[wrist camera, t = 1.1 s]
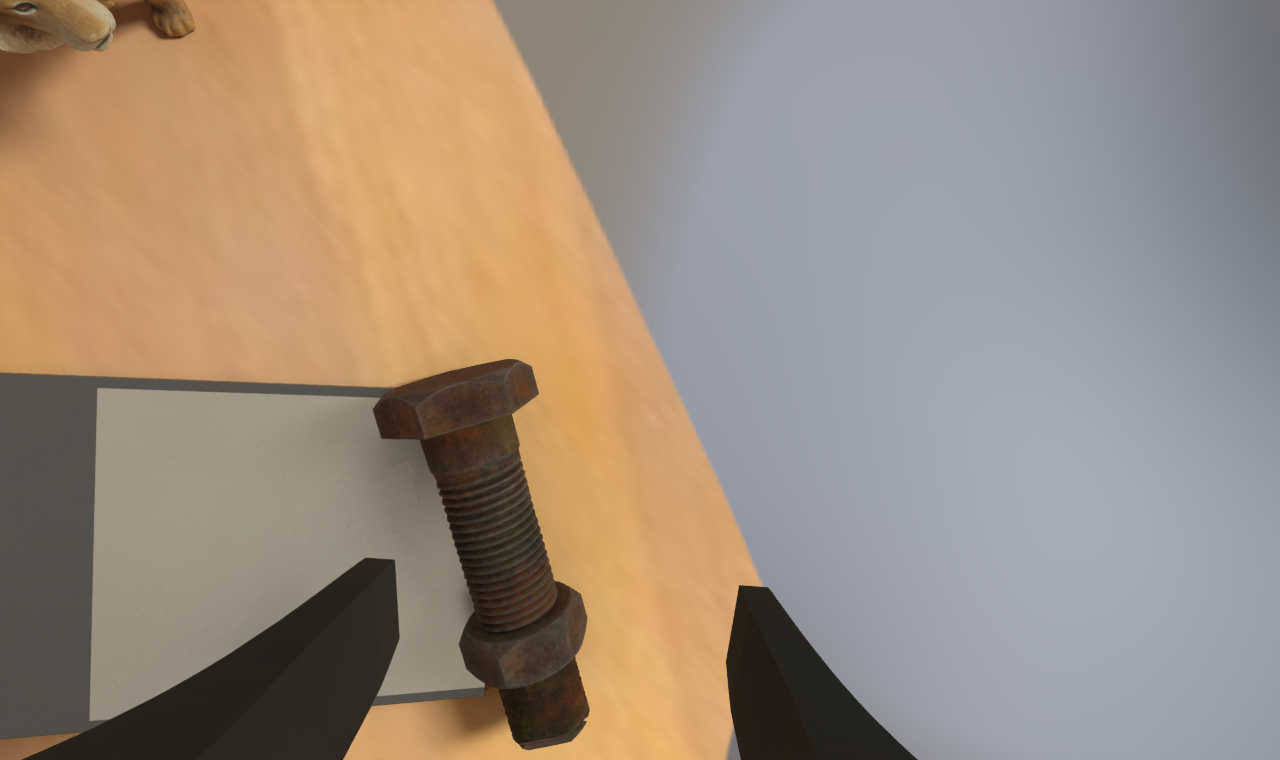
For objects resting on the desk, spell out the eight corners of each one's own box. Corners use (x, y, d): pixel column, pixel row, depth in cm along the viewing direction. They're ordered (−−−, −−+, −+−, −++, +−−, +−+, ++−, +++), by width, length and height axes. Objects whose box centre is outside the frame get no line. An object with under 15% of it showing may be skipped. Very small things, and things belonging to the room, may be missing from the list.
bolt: (520, 684, 28) (429, 373, 25) (624, 673, 27) (540, 349, 24) (467, 793, 22) (342, 408, 20) (596, 785, 21) (483, 380, 19)
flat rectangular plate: (484, 691, 26) (484, 696, 26) (-449, 774, 19) (-465, 781, 18) (498, 391, 25) (499, 392, 25) (-453, 354, 18) (-469, 355, 18)
